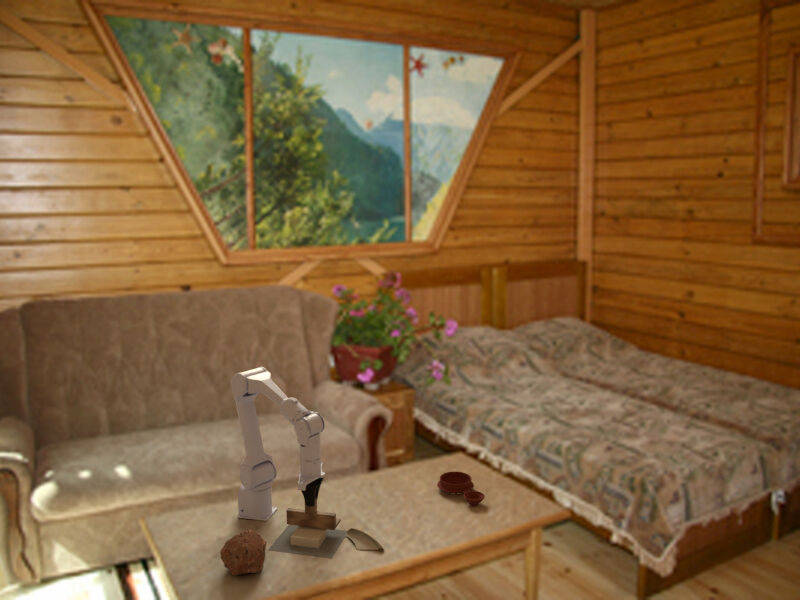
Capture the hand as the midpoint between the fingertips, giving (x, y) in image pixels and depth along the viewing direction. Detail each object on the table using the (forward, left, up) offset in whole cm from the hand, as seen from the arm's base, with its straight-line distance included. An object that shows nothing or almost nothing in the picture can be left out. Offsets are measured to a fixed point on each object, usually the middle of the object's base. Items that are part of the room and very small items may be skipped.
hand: (311, 503), depth 198 cm
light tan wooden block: (0, +1, -8) cm, 8 cm away
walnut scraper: (0, +2, -6) cm, 7 cm away
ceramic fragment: (+15, 0, -11) cm, 18 cm away
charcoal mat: (0, -2, -10) cm, 10 cm away
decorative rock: (-11, -20, -10) cm, 25 cm away
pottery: (+37, +36, -10) cm, 52 cm away
